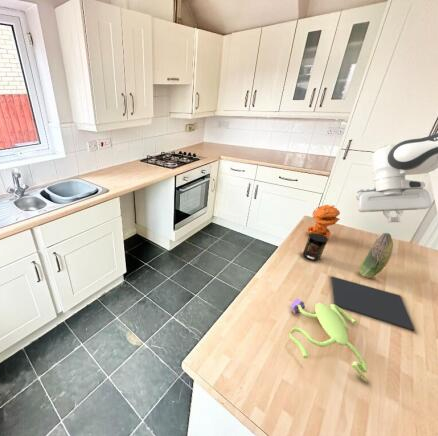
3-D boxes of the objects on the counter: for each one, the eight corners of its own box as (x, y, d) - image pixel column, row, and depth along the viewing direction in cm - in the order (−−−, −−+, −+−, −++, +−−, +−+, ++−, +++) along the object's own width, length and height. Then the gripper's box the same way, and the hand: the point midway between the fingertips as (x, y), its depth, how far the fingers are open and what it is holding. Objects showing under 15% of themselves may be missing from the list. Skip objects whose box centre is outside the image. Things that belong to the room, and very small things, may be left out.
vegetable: (370, 272, 97) (393, 230, 88) (381, 283, 92) (407, 239, 82) (353, 271, 98) (375, 229, 88) (363, 282, 93) (387, 238, 83)
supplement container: (320, 255, 107) (328, 236, 102) (319, 264, 102) (328, 243, 97) (302, 250, 111) (309, 231, 106) (301, 258, 106) (308, 238, 101)
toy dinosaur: (326, 246, 113) (340, 212, 105) (301, 236, 121) (312, 204, 112) (334, 237, 120) (348, 205, 111) (310, 229, 127) (321, 197, 118)
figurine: (284, 358, 67) (289, 345, 65) (289, 294, 88) (293, 283, 85) (368, 394, 59) (378, 381, 57) (352, 315, 79) (359, 303, 77)
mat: (399, 296, 86) (400, 295, 86) (413, 331, 74) (414, 330, 74) (331, 277, 95) (332, 276, 95) (334, 305, 83) (335, 304, 83)
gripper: (357, 188, 97) (361, 222, 95) (431, 181, 87) (436, 219, 85) (353, 191, 102) (356, 224, 100) (422, 186, 92) (427, 222, 90)
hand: (394, 222), depth 93 cm, fingers closed
